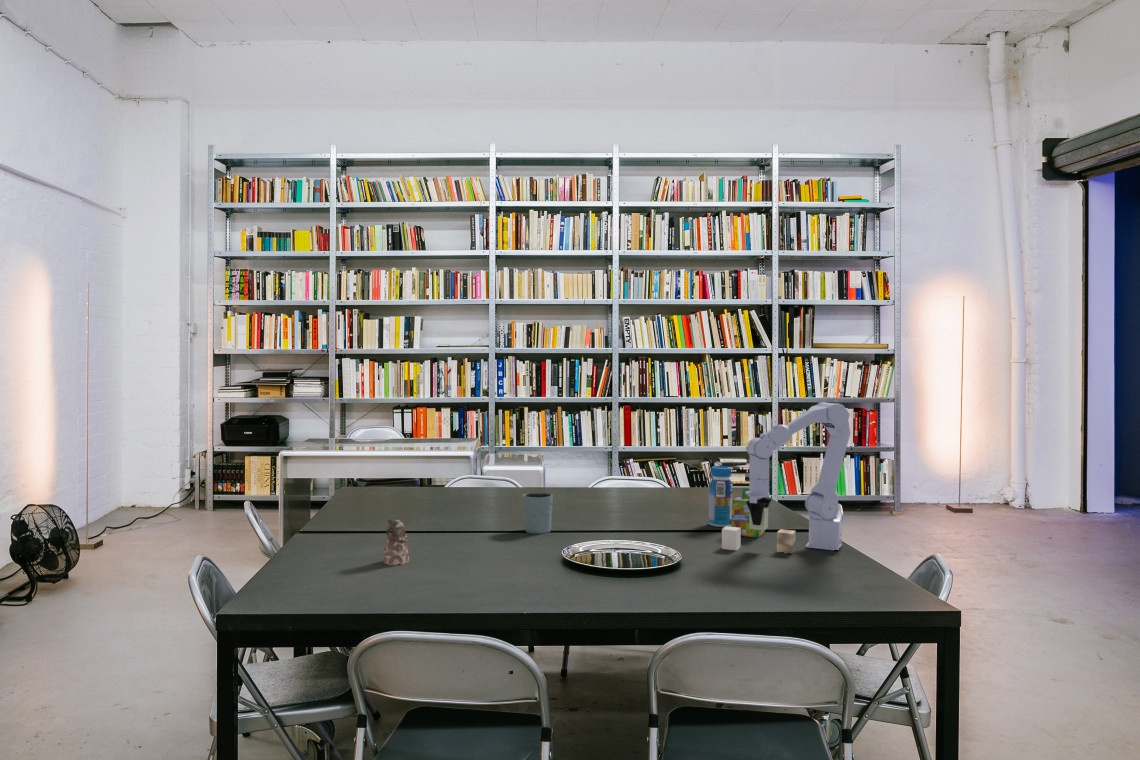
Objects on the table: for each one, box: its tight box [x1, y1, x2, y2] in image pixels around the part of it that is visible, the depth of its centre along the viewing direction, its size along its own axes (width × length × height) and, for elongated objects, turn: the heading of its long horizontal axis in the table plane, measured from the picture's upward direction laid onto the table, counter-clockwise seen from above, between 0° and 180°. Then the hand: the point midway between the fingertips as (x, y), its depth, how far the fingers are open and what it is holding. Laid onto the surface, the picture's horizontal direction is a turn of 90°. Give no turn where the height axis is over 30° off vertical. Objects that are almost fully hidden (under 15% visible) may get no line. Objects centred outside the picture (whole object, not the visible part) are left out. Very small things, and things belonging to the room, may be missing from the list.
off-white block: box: [721, 526, 742, 551], centre depth 232 cm, size 4×4×6 cm
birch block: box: [776, 528, 797, 554], centre depth 228 cm, size 4×4×6 cm
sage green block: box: [749, 506, 769, 531], centre depth 230 cm, size 4×4×6 cm
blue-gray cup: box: [522, 492, 554, 534], centre depth 254 cm, size 10×10×12 cm
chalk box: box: [730, 487, 766, 539], centre depth 250 cm, size 9×9×15 cm
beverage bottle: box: [708, 465, 734, 528], centre depth 264 cm, size 8×8×20 cm
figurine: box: [382, 518, 410, 566], centre depth 214 cm, size 7×7×12 cm
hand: (758, 523), depth 230 cm, fingers closed on sage green block, 4 cm apart
